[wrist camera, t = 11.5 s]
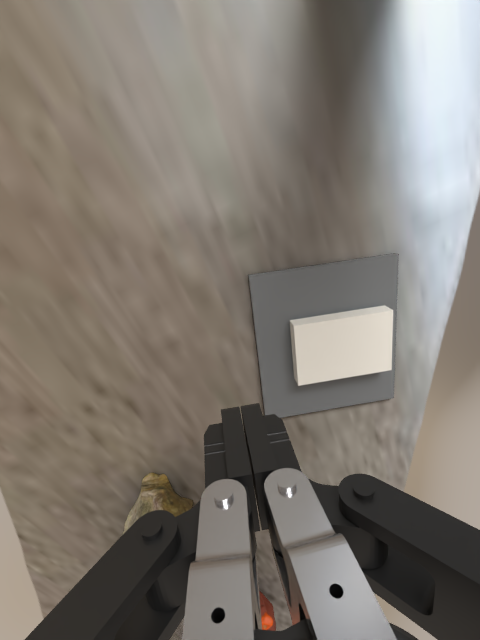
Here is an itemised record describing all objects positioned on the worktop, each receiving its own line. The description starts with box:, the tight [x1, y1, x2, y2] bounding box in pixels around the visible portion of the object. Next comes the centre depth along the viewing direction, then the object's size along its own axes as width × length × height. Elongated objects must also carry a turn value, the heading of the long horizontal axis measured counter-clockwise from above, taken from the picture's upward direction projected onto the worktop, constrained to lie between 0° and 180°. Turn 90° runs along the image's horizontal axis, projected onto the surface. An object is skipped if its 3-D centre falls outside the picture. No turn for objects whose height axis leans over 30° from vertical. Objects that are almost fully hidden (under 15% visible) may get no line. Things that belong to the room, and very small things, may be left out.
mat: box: [248, 253, 399, 418], centre depth 45 cm, size 20×18×1 cm
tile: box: [290, 305, 393, 386], centre depth 44 cm, size 8×2×12 cm
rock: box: [122, 473, 193, 535], centre depth 48 cm, size 19×10×10 cm
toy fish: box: [259, 591, 276, 631], centre depth 55 cm, size 12×10×11 cm
